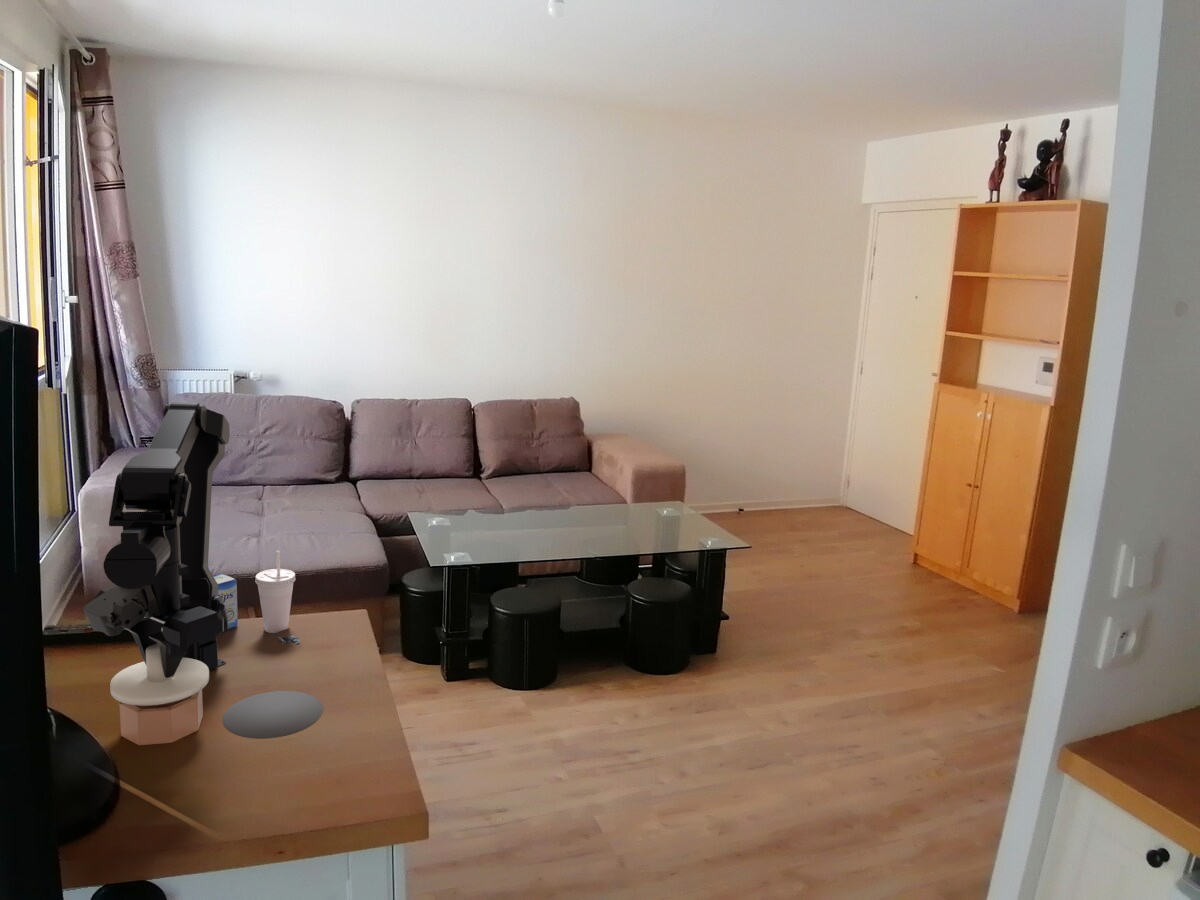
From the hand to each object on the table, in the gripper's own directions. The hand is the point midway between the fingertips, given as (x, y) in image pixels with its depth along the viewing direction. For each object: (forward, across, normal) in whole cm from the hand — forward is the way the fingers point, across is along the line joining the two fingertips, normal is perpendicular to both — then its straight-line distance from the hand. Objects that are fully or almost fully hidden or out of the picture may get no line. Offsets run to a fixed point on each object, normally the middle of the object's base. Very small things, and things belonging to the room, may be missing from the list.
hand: (160, 672), depth 115 cm
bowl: (+8, 0, 0) cm, 8 cm away
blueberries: (+9, -8, +27) cm, 30 cm away
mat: (+8, +9, +10) cm, 16 cm away
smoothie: (+8, -14, +30) cm, 34 cm away
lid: (+2, 0, 0) cm, 2 cm away
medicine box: (+8, -22, +23) cm, 33 cm away
